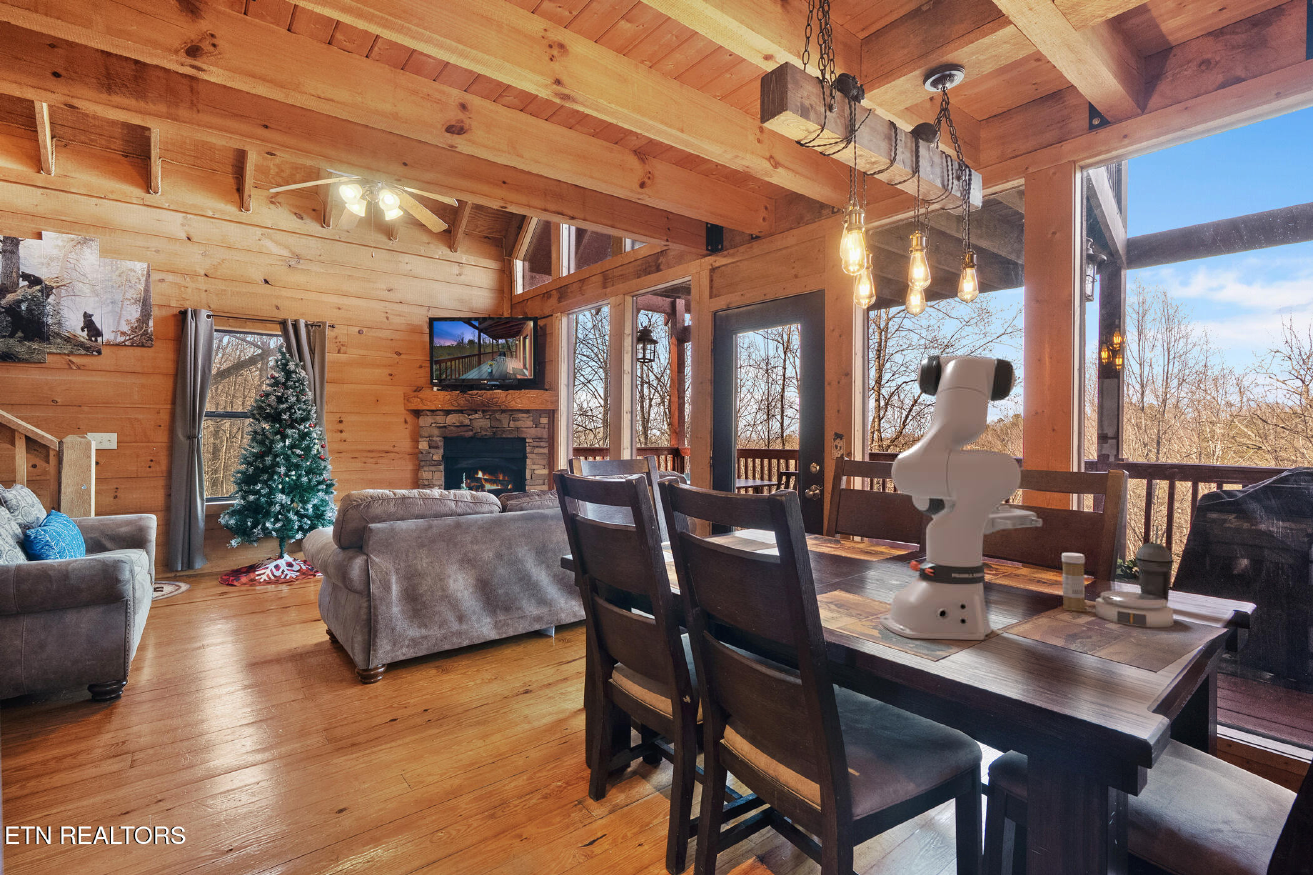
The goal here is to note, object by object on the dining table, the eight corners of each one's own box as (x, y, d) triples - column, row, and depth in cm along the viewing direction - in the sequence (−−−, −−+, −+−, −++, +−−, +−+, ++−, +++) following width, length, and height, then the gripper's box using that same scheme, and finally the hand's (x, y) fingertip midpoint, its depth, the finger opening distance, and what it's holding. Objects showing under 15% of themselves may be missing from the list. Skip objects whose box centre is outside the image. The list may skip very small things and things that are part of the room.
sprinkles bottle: (1083, 608, 148) (1083, 552, 148) (1086, 613, 144) (1085, 556, 144) (1061, 606, 150) (1060, 551, 150) (1063, 610, 146) (1062, 554, 146)
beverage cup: (1160, 603, 152) (1159, 523, 152) (1182, 611, 145) (1181, 527, 145) (1128, 602, 153) (1127, 522, 153) (1149, 610, 145) (1148, 526, 146)
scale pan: (1131, 609, 133) (1131, 605, 133) (1087, 595, 145) (1087, 591, 145) (1182, 608, 134) (1181, 603, 134) (1134, 594, 146) (1134, 590, 146)
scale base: (1130, 628, 132) (1130, 614, 132) (1080, 610, 146) (1080, 597, 146) (1190, 626, 133) (1190, 612, 133) (1135, 608, 147) (1135, 596, 147)
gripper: (953, 508, 168) (996, 514, 155) (1009, 504, 175) (1054, 509, 162) (953, 531, 168) (997, 538, 155) (1009, 526, 175) (1055, 533, 162)
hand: (1027, 524), depth 159 cm, fingers open, 8 cm apart
